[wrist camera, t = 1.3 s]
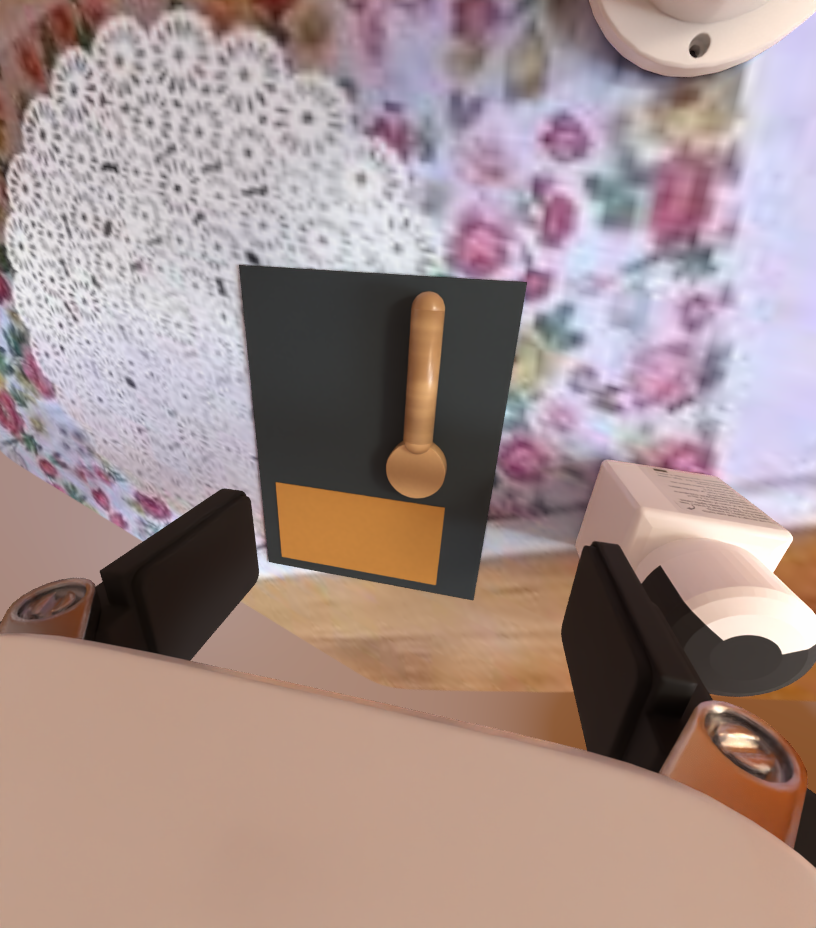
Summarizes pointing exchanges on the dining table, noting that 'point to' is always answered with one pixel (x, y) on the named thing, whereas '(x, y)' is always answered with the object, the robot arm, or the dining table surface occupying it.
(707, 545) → the container
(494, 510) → the dining table surface
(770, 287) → the dining table surface
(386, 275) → the mat
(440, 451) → the wooden rod with disc
